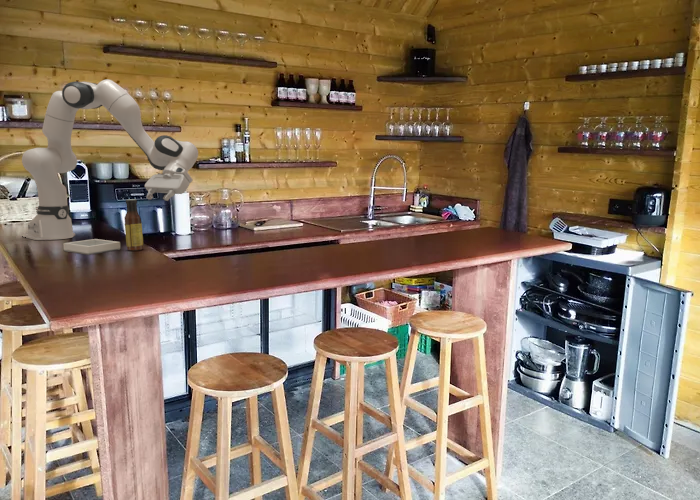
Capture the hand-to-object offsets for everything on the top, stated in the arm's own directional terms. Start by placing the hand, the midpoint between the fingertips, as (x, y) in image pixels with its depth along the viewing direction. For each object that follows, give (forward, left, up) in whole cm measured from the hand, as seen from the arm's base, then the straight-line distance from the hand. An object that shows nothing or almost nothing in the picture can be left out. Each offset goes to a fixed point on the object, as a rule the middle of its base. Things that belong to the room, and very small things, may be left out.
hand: (156, 199), depth 236 cm
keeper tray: (-12, -22, -19) cm, 32 cm away
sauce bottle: (0, -12, -20) cm, 23 cm away
